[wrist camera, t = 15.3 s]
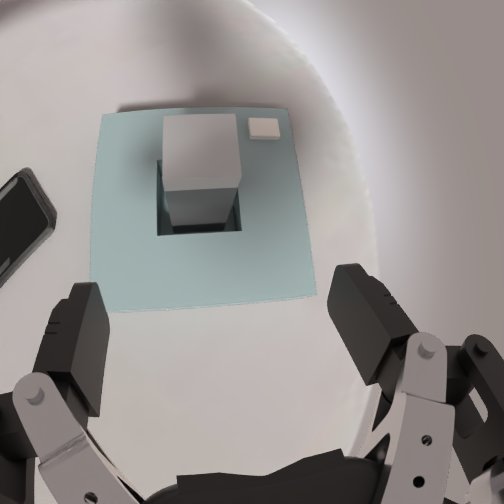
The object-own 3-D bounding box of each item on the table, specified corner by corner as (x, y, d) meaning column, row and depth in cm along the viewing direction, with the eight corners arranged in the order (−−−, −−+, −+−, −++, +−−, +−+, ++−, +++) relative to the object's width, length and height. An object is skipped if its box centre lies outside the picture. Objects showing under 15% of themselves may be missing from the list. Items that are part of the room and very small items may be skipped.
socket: (105, 312, 23) (88, 311, 19) (110, 136, 26) (100, 110, 22) (301, 298, 26) (320, 294, 22) (277, 130, 29) (289, 105, 25)
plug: (173, 233, 25) (162, 179, 15) (172, 187, 25) (163, 115, 16) (223, 230, 25) (241, 175, 16) (219, 184, 26) (235, 113, 17)
